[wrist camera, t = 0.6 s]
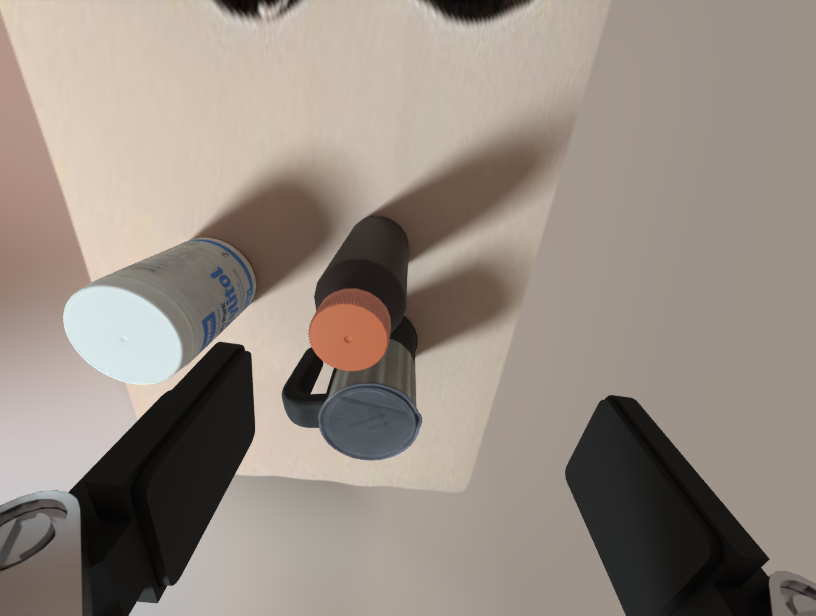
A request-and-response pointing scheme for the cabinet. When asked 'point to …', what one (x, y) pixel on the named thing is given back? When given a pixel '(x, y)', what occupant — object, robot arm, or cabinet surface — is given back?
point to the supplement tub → (159, 310)
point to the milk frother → (361, 401)
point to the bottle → (361, 296)
